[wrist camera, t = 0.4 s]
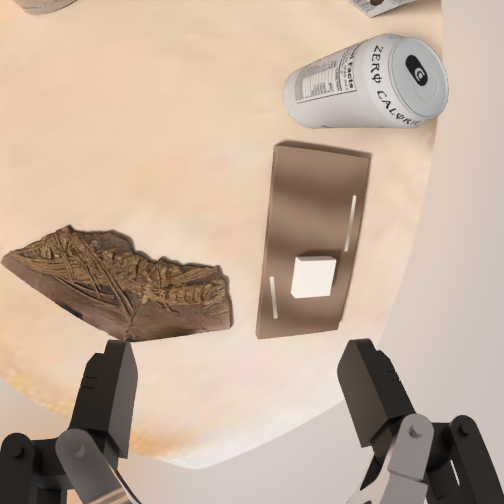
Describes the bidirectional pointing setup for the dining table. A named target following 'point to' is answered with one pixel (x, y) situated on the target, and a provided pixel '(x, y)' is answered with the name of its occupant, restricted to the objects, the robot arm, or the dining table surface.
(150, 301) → the wooden fragment
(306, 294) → the white square tile
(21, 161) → the dining table surface
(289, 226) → the walnut board
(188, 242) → the dining table surface
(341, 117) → the energy drink can
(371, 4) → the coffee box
